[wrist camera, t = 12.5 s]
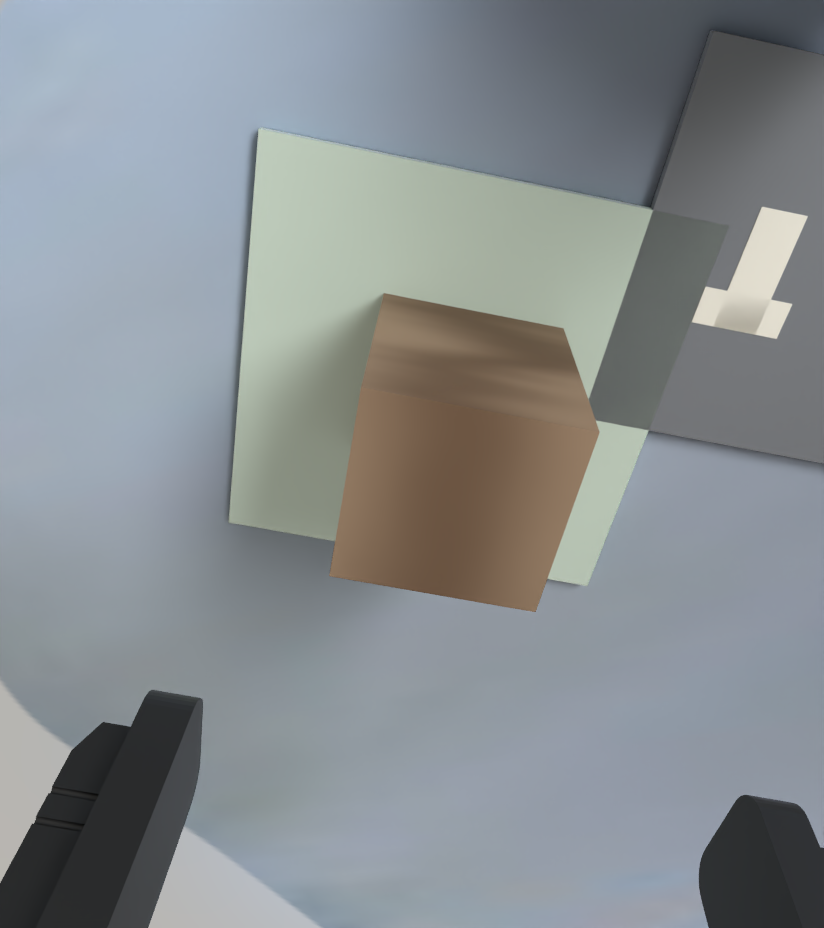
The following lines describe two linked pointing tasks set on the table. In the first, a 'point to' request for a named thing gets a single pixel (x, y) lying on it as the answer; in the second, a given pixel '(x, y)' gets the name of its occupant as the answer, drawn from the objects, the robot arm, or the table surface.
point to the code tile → (736, 261)
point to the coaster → (428, 279)
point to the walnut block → (463, 455)
